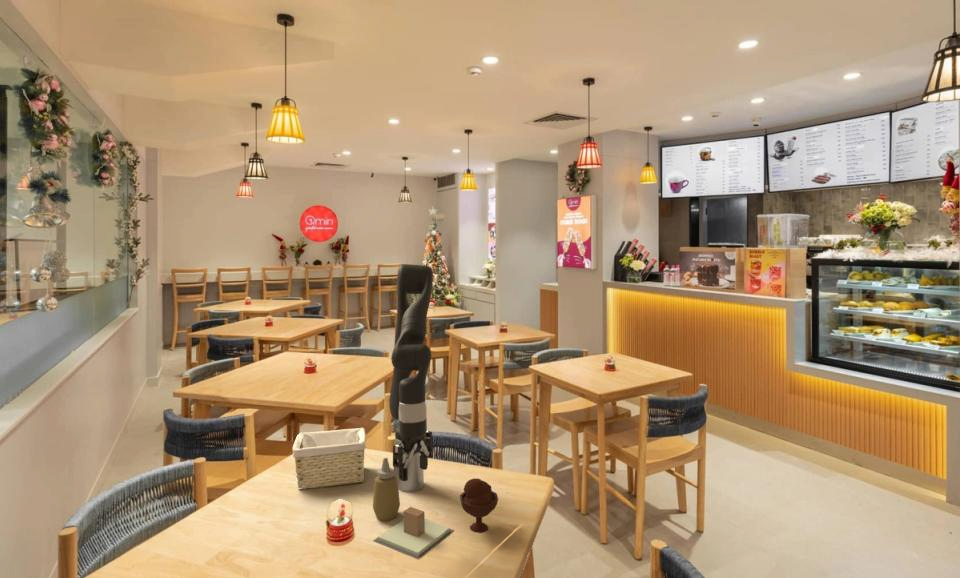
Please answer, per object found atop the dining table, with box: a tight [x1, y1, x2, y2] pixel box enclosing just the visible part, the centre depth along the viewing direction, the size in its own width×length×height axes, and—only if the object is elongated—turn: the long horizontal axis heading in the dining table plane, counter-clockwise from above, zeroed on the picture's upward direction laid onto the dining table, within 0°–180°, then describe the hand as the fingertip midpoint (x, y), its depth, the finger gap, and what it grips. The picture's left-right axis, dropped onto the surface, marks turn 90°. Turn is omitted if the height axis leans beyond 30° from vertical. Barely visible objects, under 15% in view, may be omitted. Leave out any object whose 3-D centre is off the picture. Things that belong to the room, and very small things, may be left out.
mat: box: [372, 528, 455, 561], centre depth 144 cm, size 16×16×1 cm
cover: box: [377, 506, 451, 556], centre depth 144 cm, size 14×14×7 cm
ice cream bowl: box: [459, 478, 499, 534], centre depth 147 cm, size 11×11×15 cm
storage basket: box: [292, 427, 367, 489], centre depth 181 cm, size 24×16×15 cm
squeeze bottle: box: [372, 457, 401, 522], centre depth 154 cm, size 8×8×18 cm
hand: (413, 474), depth 143 cm, fingers open, 8 cm apart
